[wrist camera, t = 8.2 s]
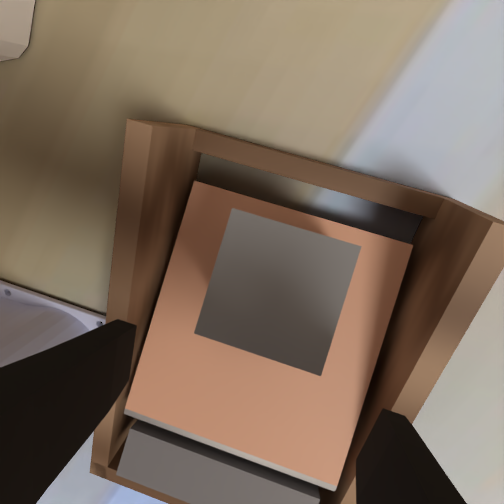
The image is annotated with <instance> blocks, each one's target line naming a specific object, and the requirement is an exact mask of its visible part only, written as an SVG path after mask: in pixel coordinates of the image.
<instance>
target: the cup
mask: <svg viewBox="0 0 504 504" xmlns="http://www.w3.org/2000/svg"><path fill="white" fill-rule="evenodd" d="M34 5H35V0H0V61H5V60H10V59H16V58H19V57H20V55H21V54H22V53H23V52H24V50H25V49H26V48H27V47H28V44H29V37H30V31H31V24H32V18H33V11H34Z"/></svg>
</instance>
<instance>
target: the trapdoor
mask: <svg viewBox="0 0 504 504" xmlns="http://www.w3.org/2000/svg"><path fill="white" fill-rule="evenodd" d="M232 208H234V209H238V210H241V211H244V212H248V213H251V214H254V215H258V216H261V217H264V218H268V219H271V220H274V221H278V222H281V223H285V224H288V225H291V226H295V227H298V228H301V229H305V230H308V231H311V232H315V233H318V234H321V235H325V236H328V237H332V238H335V239H338V240H342V241H345V242H348V243H352V244H355V245H358V246H362V247H361V250H360V253H359V256H358V259H357V263H356V266H355V269H354V272H353V275H352V279H351V282H350V285H349V288H348V291H347V295H346V298H345V301H344V304H343V307H342V311H341V314H340V317H339V320H338V323H337V327H336V330H335V333H334V336H333V339H332V343H331V346H330V349H329V352H328V355H327V359H326V362H325V365H324V368H323V371H322V375H321V376H318V375H315V374H312V373H309V372H307V371H304V370H301V369H298V368H295V367H292V366H289V365H286V364H283V363H280V362H277V361H274V360H271V359H268V358H265V357H262V356H259V355H256V354H253V353H250V352H247V351H244V350H241V349H238V348H235V347H232V346H230V345H227V344H224V343H221V342H218V341H215V340H212V339H209V338H206V337H203V336H200V335H197V334H194V331H195V328H196V324H197V321H198V318H199V315H200V311H201V308H202V305H203V302H204V298H205V295H206V292H207V289H208V285H209V282H210V279H211V275H212V272H213V269H214V266H215V262H216V259H217V256H218V253H219V249H220V246H221V243H222V239H223V236H224V233H225V230H226V226H227V223H228V220H229V217H230V213H231V210H232ZM412 248H413V245H411V244H408V243H405V242H401V241H398V240H394V239H391V238H388V237H384V236H381V235H377V234H374V233H371V232H367V231H364V230H360V229H357V228H354V227H350V226H347V225H343V224H340V223H337V222H333V221H330V220H326V219H323V218H320V217H316V216H313V215H309V214H306V213H303V212H299V211H296V210H292V209H289V208H286V207H282V206H279V205H275V204H272V203H269V202H265V201H262V200H258V199H255V198H252V197H248V196H245V195H241V194H238V193H235V192H231V191H228V190H224V189H221V188H218V187H214V186H211V185H207V184H204V183H201V182H197V181H194V183H193V187H192V190H191V193H190V196H189V200H188V203H187V206H186V210H185V213H184V216H183V219H182V223H181V226H180V229H179V232H178V236H177V239H176V242H175V246H174V249H173V252H172V255H171V259H170V262H169V265H168V269H167V272H166V275H165V278H164V282H163V285H162V288H161V292H160V295H159V298H158V301H157V305H156V308H155V311H154V314H153V318H152V321H151V324H150V328H149V331H148V334H147V337H146V341H145V344H144V347H143V351H142V354H141V357H140V360H139V364H138V367H137V370H136V373H135V377H134V380H133V383H132V387H131V390H130V393H129V396H128V400H127V403H126V406H125V410H124V414H126V415H128V416H131V417H134V418H137V419H138V420H137V421H136V422H135V423H134V425H133V426H132V427H131V428H130V430H129V433H128V437H127V440H126V443H125V447H124V450H123V453H122V456H121V460H120V463H119V466H118V469H117V473H116V475H118V476H120V477H123V478H125V479H128V480H131V481H133V482H136V483H138V484H141V485H143V486H146V487H149V488H151V489H154V490H156V491H159V492H161V493H164V494H167V495H169V496H172V497H174V498H177V499H179V500H182V501H185V502H187V503H190V504H319V501H320V495H319V489H318V486H320V487H323V488H326V489H328V490H331V491H335V490H336V488H337V485H338V482H339V479H340V476H341V472H342V469H343V466H344V463H345V460H346V457H347V453H348V450H349V447H350V444H351V441H352V438H353V434H354V431H355V428H356V425H357V422H358V419H359V415H360V412H361V409H362V406H363V403H364V400H365V396H366V393H367V390H368V387H369V384H370V381H371V377H372V374H373V371H374V368H375V365H376V362H377V358H378V355H379V352H380V349H381V346H382V343H383V339H384V336H385V333H386V330H387V327H388V324H389V320H390V317H391V314H392V311H393V308H394V305H395V301H396V298H397V295H398V292H399V289H400V286H401V282H402V279H403V276H404V273H405V270H406V267H407V263H408V260H409V257H410V254H411V251H412Z"/></svg>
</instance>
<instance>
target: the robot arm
mask: <svg viewBox="0 0 504 504" xmlns="http://www.w3.org/2000/svg"><path fill="white" fill-rule="evenodd" d="M100 321H101V322H102V323H103V324H101V322H100ZM105 323H106V316H103V315H100V314H97V313H94V312H91V311H88V310H85V309H83V308H80V307H77V306H74V305H71V304H68V303H65V302H62V301H59V300H56V299H53V298H50V297H48V296H45V295H42V294H39V293H36V292H33V291H30V290H27V289H24V288H21V287H18V286H15V285H13V284H10V283H7V282H4V281H1V280H0V504H36V503H37V501H38V500H39V499H40V497H41V496H42V495H43V494H44V492H45V491H46V490H47V488H48V487H49V486H50V485H51V483H52V482H53V481H54V480H55V478H56V477H57V476H58V475H59V473H60V472H61V471H62V470H63V468H64V467H65V466H66V465H67V463H68V462H69V461H70V460H71V459H72V457H73V456H74V455H75V454H76V452H77V451H78V450H79V449H80V447H81V446H82V445H83V444H84V442H85V441H86V440H87V439H88V437H89V436H90V435H91V434H92V432H93V431H94V430H95V429H96V427H97V426H98V425H99V424H100V422H101V421H102V420H103V419H104V417H105V416H106V415H107V414H108V412H109V411H110V409H111V408H112V406H113V405H114V403H115V402H116V400H117V399H118V397H119V395H120V394H121V392H122V391H123V389H124V387H125V386H126V384H127V383H128V381H129V378H130V371H131V364H132V357H133V350H134V343H135V336H136V329H137V325H134V324H131V323H128V322H126V321H123V320H120V319H116V320H114V321H111V322H109V323H107V324H105ZM356 504H467V503H466V502H465V501H464V499H463V498H462V496H461V495H460V494H459V492H458V491H457V489H456V488H455V486H454V485H453V484H452V482H451V481H450V479H449V478H448V476H447V475H446V474H445V472H444V471H443V469H442V468H441V466H440V465H439V463H438V462H437V461H436V459H435V458H434V456H433V455H432V453H431V452H430V450H429V449H428V447H427V446H426V444H425V443H424V442H423V440H422V439H421V437H420V436H419V434H418V433H417V431H416V430H415V428H414V427H413V426H412V424H411V423H410V422H409V420H408V419H407V417H406V416H404V415H401V414H399V413H396V412H393V411H390V410H387V409H384V408H383V409H382V410H381V412H380V414H379V416H378V418H377V420H376V422H375V424H374V426H373V428H372V430H371V432H370V434H369V435H368V437H367V439H366V441H365V443H364V445H363V447H362V449H361V451H360V453H359V455H358V457H357V459H356Z"/></svg>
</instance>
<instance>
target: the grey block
mask: <svg viewBox="0 0 504 504" xmlns="http://www.w3.org/2000/svg"><path fill="white" fill-rule="evenodd" d="M361 247H362V246H358V245H355V244H352V243H348V242H345V241H342V240H338V239H335V238H332V237H328V236H325V235H321V234H318V233H315V232H311V231H308V230H305V229H301V228H298V227H295V226H291V225H288V224H285V223H281V222H278V221H274V220H271V219H268V218H264V217H261V216H258V215H254V214H251V213H248V212H244V211H241V210H238V209H234V208H232V210H231V213H230V217H229V220H228V223H227V226H226V230H225V233H224V236H223V239H222V243H221V246H220V249H219V253H218V256H217V259H216V262H215V266H214V269H213V272H212V275H211V279H210V282H209V285H208V289H207V292H206V295H205V298H204V302H203V305H202V308H201V311H200V315H199V318H198V321H197V324H196V328H195V331H194V334H197V335H200V336H203V337H206V338H209V339H212V340H215V341H218V342H221V343H224V344H227V345H230V346H232V347H235V348H238V349H241V350H244V351H247V352H250V353H253V354H256V355H259V356H262V357H265V358H268V359H271V360H274V361H277V362H280V363H283V364H286V365H289V366H292V367H295V368H298V369H301V370H304V371H307V372H309V373H312V374H315V375H318V376H321V375H322V371H323V368H324V365H325V362H326V359H327V355H328V352H329V349H330V346H331V343H332V339H333V336H334V333H335V330H336V327H337V323H338V320H339V317H340V314H341V311H342V307H343V304H344V301H345V298H346V295H347V291H348V288H349V285H350V282H351V279H352V275H353V272H354V269H355V266H356V263H357V259H358V256H359V253H360V250H361Z"/></svg>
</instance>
